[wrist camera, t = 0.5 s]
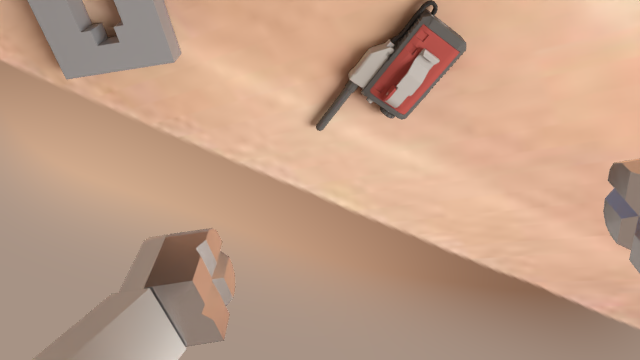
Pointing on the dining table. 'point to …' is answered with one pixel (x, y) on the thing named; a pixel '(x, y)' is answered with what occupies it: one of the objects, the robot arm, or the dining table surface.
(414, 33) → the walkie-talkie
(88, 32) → the chassis deck
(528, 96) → the dining table surface
